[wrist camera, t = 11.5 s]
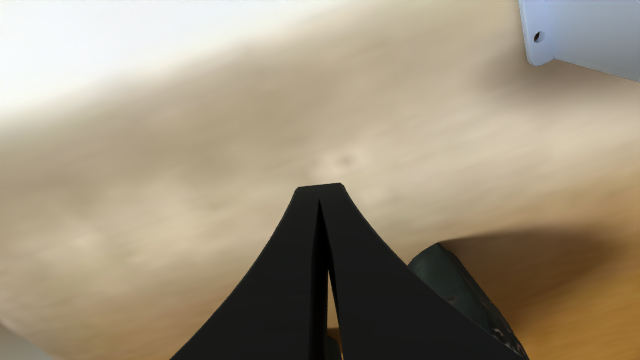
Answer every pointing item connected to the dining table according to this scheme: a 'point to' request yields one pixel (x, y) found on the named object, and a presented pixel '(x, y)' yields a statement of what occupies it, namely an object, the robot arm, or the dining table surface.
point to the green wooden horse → (455, 296)
